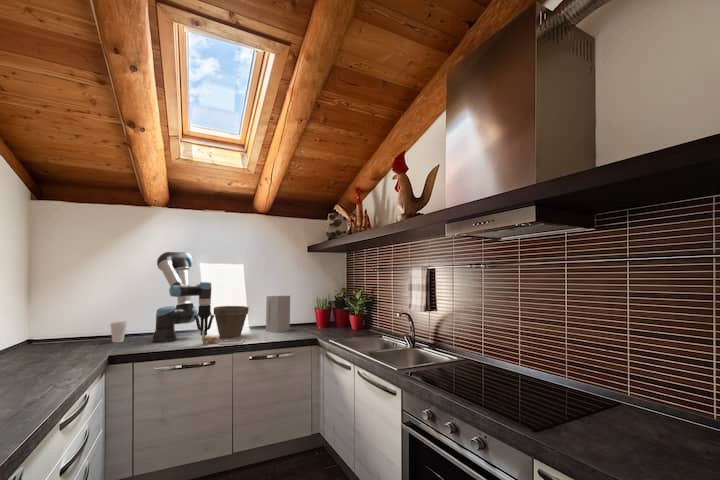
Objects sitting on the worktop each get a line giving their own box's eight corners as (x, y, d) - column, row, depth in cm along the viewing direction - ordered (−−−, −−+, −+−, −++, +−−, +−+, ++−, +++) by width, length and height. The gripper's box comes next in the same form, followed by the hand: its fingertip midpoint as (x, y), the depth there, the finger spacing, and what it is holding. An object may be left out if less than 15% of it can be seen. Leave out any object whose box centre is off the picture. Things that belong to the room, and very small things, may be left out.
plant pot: (254, 335, 279) (255, 306, 280) (231, 340, 256) (231, 309, 258) (230, 332, 289) (230, 305, 291) (205, 337, 267) (206, 307, 269)
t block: (202, 344, 242) (202, 338, 242) (206, 342, 250) (206, 336, 250) (216, 344, 243) (217, 338, 243) (220, 342, 251) (220, 336, 251)
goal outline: (219, 345, 241) (219, 343, 241) (224, 341, 254) (224, 340, 254) (241, 344, 243) (241, 343, 243) (244, 340, 256) (244, 339, 256)
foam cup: (127, 341, 253) (128, 322, 254) (111, 343, 247) (112, 323, 248) (123, 339, 260) (124, 321, 261) (108, 341, 253) (109, 322, 254)
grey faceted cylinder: (267, 333, 287) (267, 297, 290) (265, 330, 301) (266, 296, 304) (291, 331, 293) (292, 296, 296) (289, 329, 307) (289, 295, 310)
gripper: (192, 305, 244) (191, 341, 242) (213, 305, 245) (211, 341, 243) (196, 304, 251) (195, 339, 249) (216, 304, 253) (215, 339, 250)
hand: (203, 340), depth 246 cm, fingers closed
